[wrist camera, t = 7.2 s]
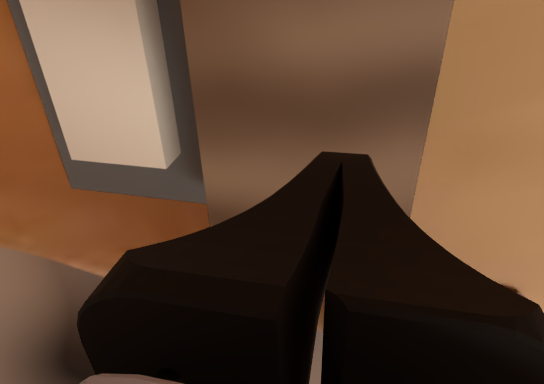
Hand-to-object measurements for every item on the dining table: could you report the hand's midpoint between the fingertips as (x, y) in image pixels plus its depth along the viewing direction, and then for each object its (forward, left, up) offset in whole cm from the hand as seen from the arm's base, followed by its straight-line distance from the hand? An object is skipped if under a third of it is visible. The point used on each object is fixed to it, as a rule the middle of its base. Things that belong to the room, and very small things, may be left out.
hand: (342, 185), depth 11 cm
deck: (0, +2, -10) cm, 11 cm away
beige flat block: (0, +13, -8) cm, 15 cm away
